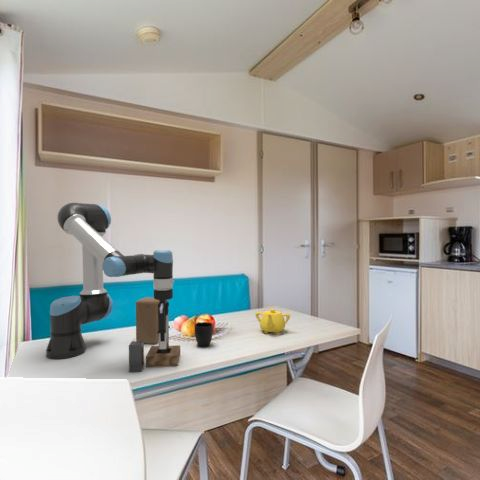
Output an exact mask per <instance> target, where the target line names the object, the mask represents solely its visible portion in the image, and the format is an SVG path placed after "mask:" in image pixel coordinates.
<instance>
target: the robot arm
mask: <svg viewBox="0 0 480 480" xmlns="http://www.w3.org/2000/svg"><path fill="white" fill-rule="evenodd" d="M111 223H112V217H111V214H110V211H109V209H107V207H106V206H104V205H100V204H96V203H81V202H80V203H79V202H69V203H67V204H64V205H63V206H62V207H61V208H60V209H59V211H58V213H57V224H58V226H59V228H60V229H62V231H64V233H66V234H67V235H72V236H73V237H74V239H76V241H78V242H79V243H81V245H82V246H81V247H82V248H81V249H82V250H81V251H82V255H81V256H82V290H81V291H80V292H79V295H70V296H64V297H60V298H57V299H55V300H53V301H52V302H51V304H50V309H49V315H50V316H49V317H50V320H49V321H50V338H49V340H48V344H47V346H46V349H45V350H46V351H45V356H46V358H48V359H53V360H61V359H69V358H73V357H76V356H79V355H82V354H84V353H85V352H86V351H87V348H86V347H87V346H86V342H85V340H84V337H83V334H82V325H86V324H91V323H94V322H98V321H101V320H103V319H106V318H108V317H109V315H111V313H112V310H113V308H114V307H113V306H114V304H113V303H114V302H113V299H112V297H111V295H110V294H108V290H107V289H105V288H104V275H105V276H107V277H109V278H113V277H114V278H120V277H125V276H131V275H137V274H138V275H139V274H153V283H152V284H153V285H152V286H153V297H154V299H156V300H160V302H159V304H158V332H157V333H159V342H158V346H159V349H166V348H167V345H166V315H169V311H170V310H169V306H170V302H169V301H168V300H171V299H173V298H174V290H173V285H174V283H175V280H173V272H174V271H173V268H174V267H173V265H174V259H173V252H172V250H170V249H169V250H168V249H156V250H153V254H144V253H138V254H137V253H136V254H133V255H123V254H122V253H121V252H120V251H119V250H118V249H117V248H115V246H113V244H111V243H110V242H109V241H108V240H107V239H105V237H103V236H105V234H107V233H106V232H107V231H106V230H107V229H109V227H110V225H111ZM170 327H171V326H170V325H169V329H171V328H170Z"/></svg>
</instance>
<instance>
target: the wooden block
mask: <svg viewBox="0 0 480 480" xmlns="http://www.w3.org/2000/svg"><path fill="white" fill-rule="evenodd" d="M159 302H160V300H156V299H154V296H152V297H151V296H150V297H149V296H145V297H143V298H140V299H138V300H136V301H135V330H136V331H135V341H144V344H146V345H148V344H149V345H155V344H158V343H159V333H157V332H158V304H159Z"/></svg>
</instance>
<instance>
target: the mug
mask: <svg viewBox="0 0 480 480" xmlns="http://www.w3.org/2000/svg"><path fill="white" fill-rule="evenodd" d="M213 331H214V326H213V323H212V322H207V321H204V322H203V321H202V322H200V321H198V322H196V323H195V324H194V336H195V340H196V344H197V347H200V348H207V347H209V346H210V345H211V343H212V339H213V334H214V333H213Z"/></svg>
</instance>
